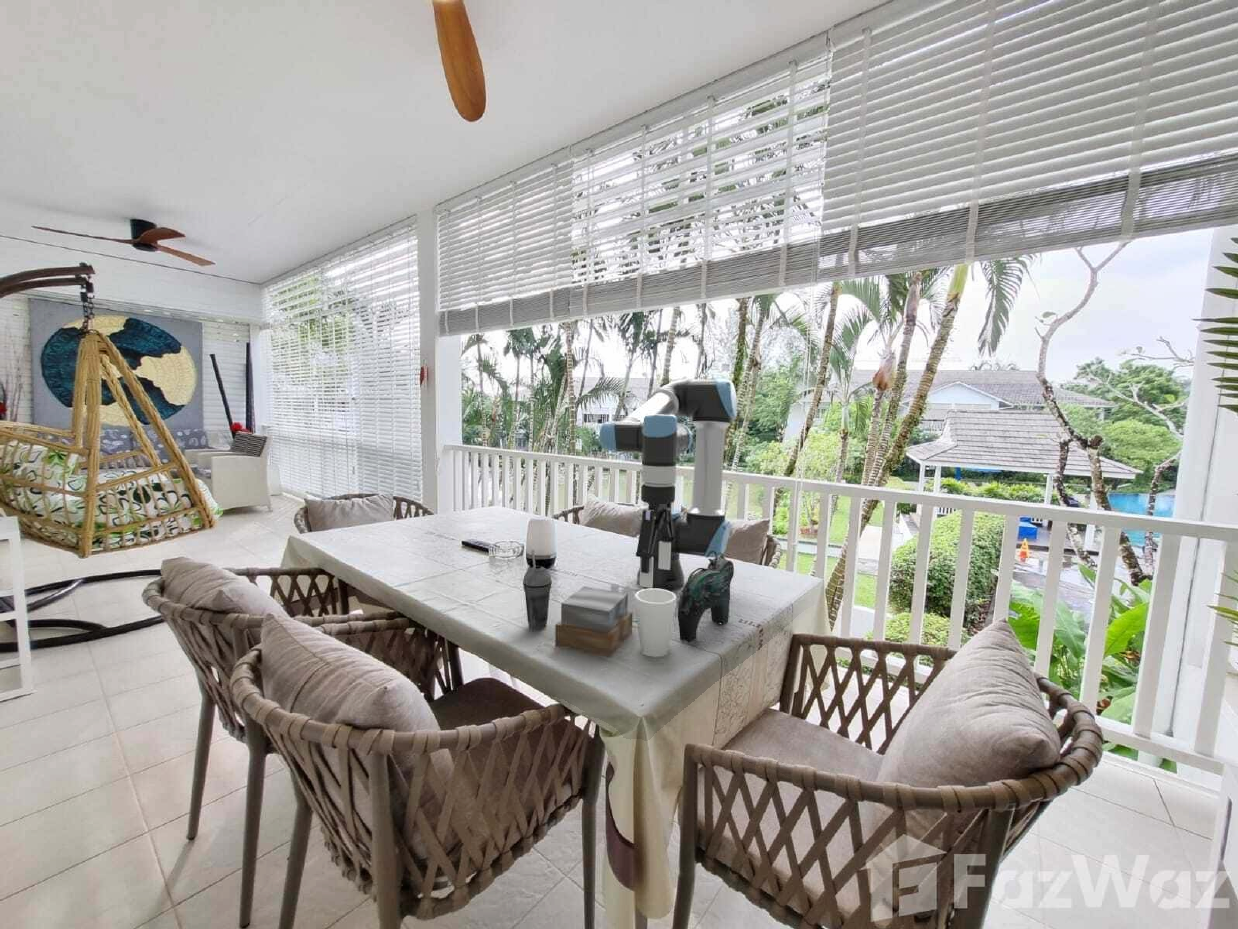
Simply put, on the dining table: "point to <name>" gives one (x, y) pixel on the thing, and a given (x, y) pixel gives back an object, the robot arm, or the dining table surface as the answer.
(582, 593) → the block tower
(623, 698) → the dining table surface
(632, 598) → the castle model
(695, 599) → the green elephant statue
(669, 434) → the robot arm
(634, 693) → the dining table surface
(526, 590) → the beverage cup
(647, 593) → the foam cup
